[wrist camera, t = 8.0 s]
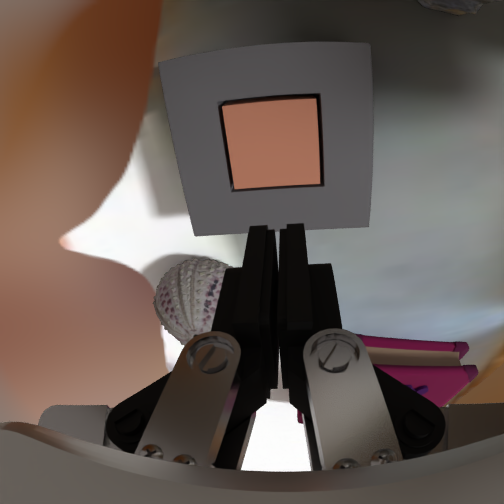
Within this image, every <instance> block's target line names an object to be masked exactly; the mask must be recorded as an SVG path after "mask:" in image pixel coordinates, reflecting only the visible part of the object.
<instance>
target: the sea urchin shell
mask: <svg viewBox="0 0 504 504" xmlns="http://www.w3.org/2000/svg"><path fill="white" fill-rule="evenodd" d="M227 268H233V267H232V266H228V265H227V264H224V263H222V262H220V263H218V262H217V261H215V260H212V261H211V260H209V259H207V260H203V261H199V260H198V259H193V260H192V261H190V260H188V261H184V262H183V264H182V265H180V264H178V265H177V266H176V267H174V268H171V269H170V271H169V272H167V273H165V276H164V277H163V278H161V281H160V283H159V285H158V286H157V289H156V290H157V291H156V292H157V293H156V296H155V297H154V300H155V301H154V302H153V304H154V307H155V310H156V314H157V316H158V318H159V319H160V321H161V325H163V326H164V329H165V330H168V333H170V334H172V335H173V336H174V337H175V338H176V339H177V340H178V341H180V343H181V345H184V346H185V345H186V344H187V342H189V341H190V340H191V339H192V338H193V337H195V336H197V335H199V334H201V333H206V332H210V331H211V328H212V323H213V319H214V315H215V311H216V306H217V302H218V298H219V294H220V290H221V286H222V282H223V277H224V273H225V270H226V269H227Z"/></svg>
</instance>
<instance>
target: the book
mask: <svg viewBox="0 0 504 504" xmlns="http://www.w3.org/2000/svg"><path fill="white" fill-rule="evenodd" d="M355 335H357V336H358V337H359V338H360V339H361V340H362V342H363V343H364V345H365V347H366V350H367V352H368V355H369V358H370V360H371V363H372V364H373V365H375V366H376V367H378V368H379V369H381V370H383V371H384V372H386V373H387V374H389V375H390V376H392V377H393V378H395V379H397V380H398V381H400V382H401V383H403V384H404V385H406V386H408V387H409V388H411V389H412V390H414V391H416V392H417V393H419V394H420V395H422V396H424V397H425V398H427V399H428V400H430V401H432V402H433V403H434V404H435V405H437V406H438V407H442V406H443V405H444V404H446V403H447V402H448V401H449V400H450V399H451V398H452V397H454V396H455V395H456V394H457V393H458V392H459V391H460V390H461V389H462V388H463V387H464V386H465V385H467V384H468V383H469V382H471V381H472V380H473V379H474V378H475V377H476V376H477V375H478V370H477V367H476V365H463V366H461V363H460V361H459V360H460V359H461V358H462V357H463V356H464V355H465V354H466V353H467V352H468V350H469V346H468V344H467V343H466V342H439V341H423V340H409V339H397V338H385V337H375V336H365V335H361V334H355ZM297 418H298V423H302V424H303V418H302V413H301V412H300V411H299V410H298V409H297Z"/></svg>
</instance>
